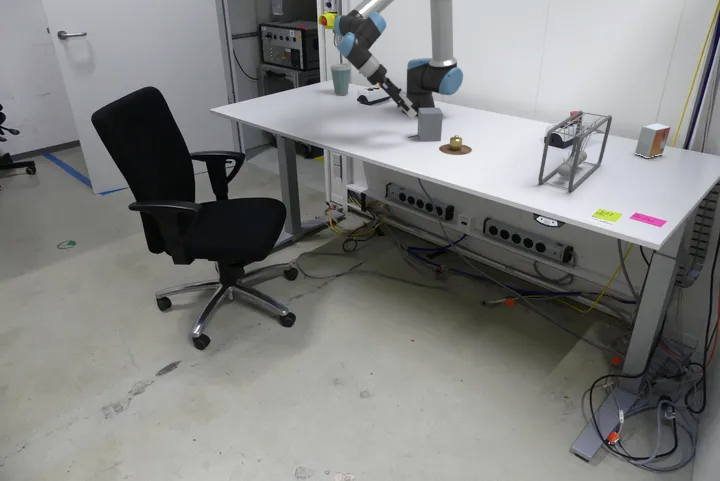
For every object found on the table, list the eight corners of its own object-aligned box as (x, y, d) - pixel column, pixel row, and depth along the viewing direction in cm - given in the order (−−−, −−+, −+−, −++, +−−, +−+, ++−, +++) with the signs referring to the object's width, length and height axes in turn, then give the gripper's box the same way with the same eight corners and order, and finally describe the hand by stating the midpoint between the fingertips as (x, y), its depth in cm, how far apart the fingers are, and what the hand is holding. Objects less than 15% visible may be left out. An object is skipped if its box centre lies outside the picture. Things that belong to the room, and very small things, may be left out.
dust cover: (417, 135, 203) (418, 108, 197) (437, 134, 203) (439, 107, 197) (420, 142, 196) (421, 113, 190) (440, 141, 196) (442, 113, 190)
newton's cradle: (570, 194, 154) (582, 137, 145) (536, 185, 160) (546, 130, 151) (601, 165, 174) (613, 113, 165) (570, 158, 180) (581, 108, 171)
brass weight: (455, 146, 190) (457, 133, 188) (463, 149, 187) (465, 136, 185) (446, 148, 188) (447, 135, 186) (454, 152, 185) (456, 138, 183)
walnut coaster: (456, 143, 195) (456, 141, 195) (478, 152, 186) (478, 150, 186) (432, 149, 190) (432, 147, 189) (453, 158, 181) (453, 157, 181)
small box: (647, 159, 178) (656, 130, 173) (633, 154, 182) (641, 126, 177) (662, 155, 181) (671, 126, 176) (648, 150, 186) (656, 122, 180)
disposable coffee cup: (329, 96, 259) (327, 66, 252) (333, 91, 268) (332, 61, 261) (349, 97, 258) (348, 66, 250) (353, 91, 267) (352, 62, 259)
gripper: (364, 71, 197) (401, 109, 205) (367, 86, 175) (408, 127, 183) (378, 56, 194) (415, 95, 202) (382, 70, 173) (424, 113, 181)
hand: (412, 110), depth 193 cm, fingers open, 13 cm apart
